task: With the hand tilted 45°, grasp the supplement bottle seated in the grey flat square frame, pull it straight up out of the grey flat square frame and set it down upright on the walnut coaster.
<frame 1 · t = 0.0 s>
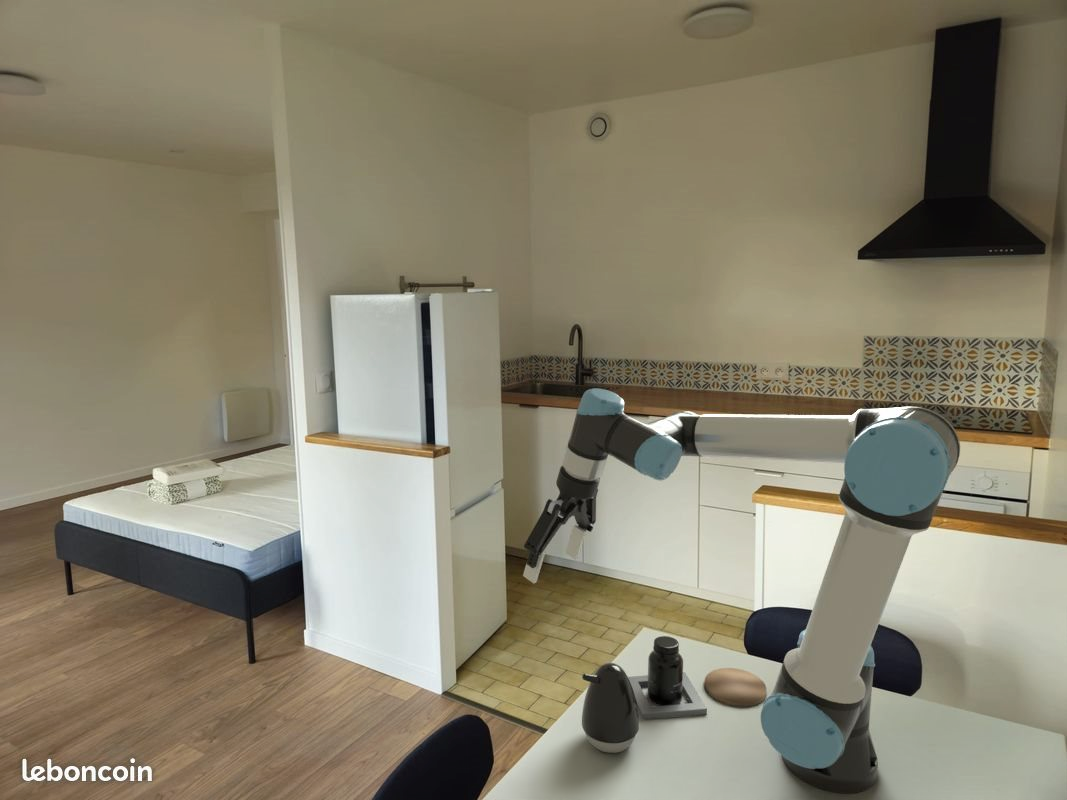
hand: (551, 567, 133), 28 cm above the table, tool tilted 20°, fingers open, 13 cm apart
supplement bottle: (664, 698, 138), resting in grey flat square frame
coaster: (735, 688, 141), on the table
grey flat square frame: (664, 697, 138), on the table
pump dispenser: (609, 744, 125), on the table
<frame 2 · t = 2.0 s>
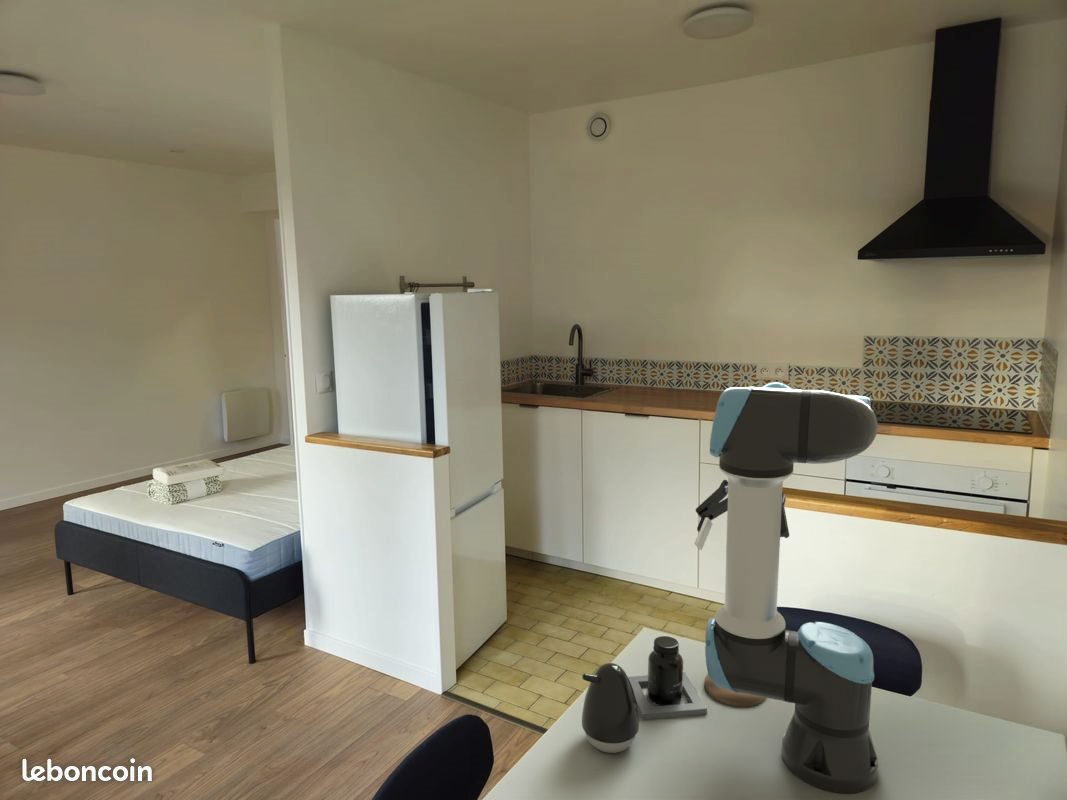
hand: (727, 554, 144), 26 cm above the table, tool tilted 45°, fingers open, 13 cm apart
nothing on the table moved.
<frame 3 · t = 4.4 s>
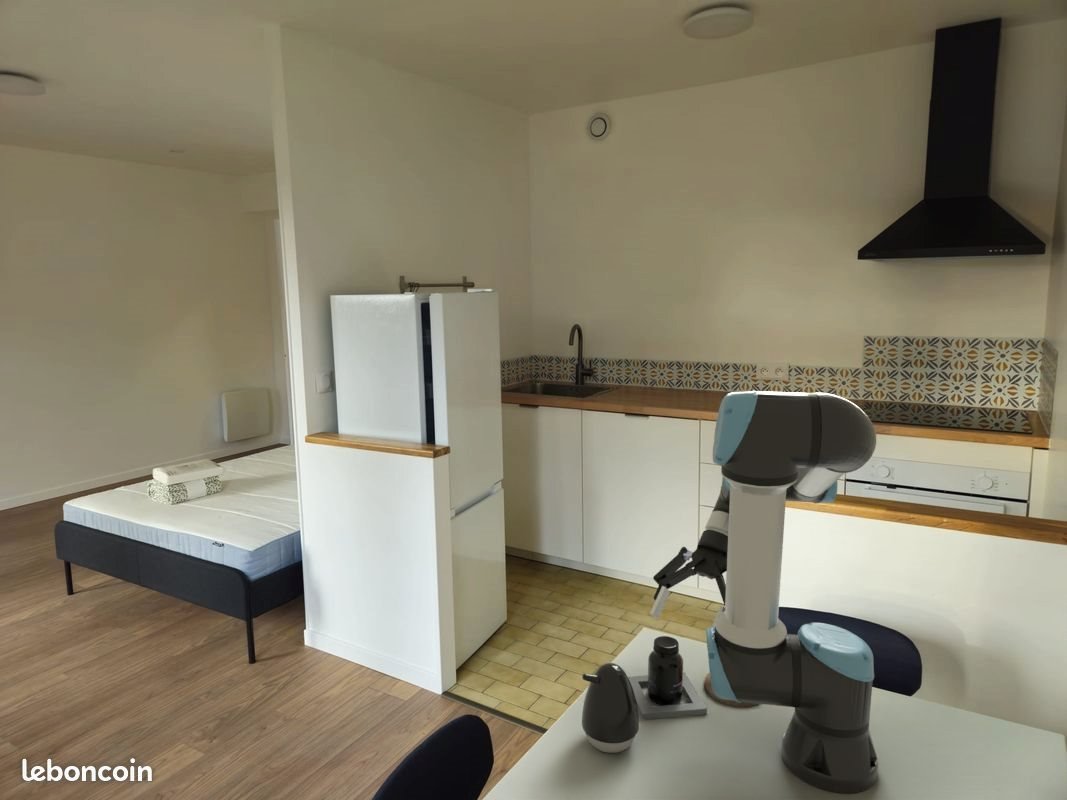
hand: (681, 627, 142), 12 cm above the table, tool tilted 45°, fingers open, 13 cm apart
nothing on the table moved.
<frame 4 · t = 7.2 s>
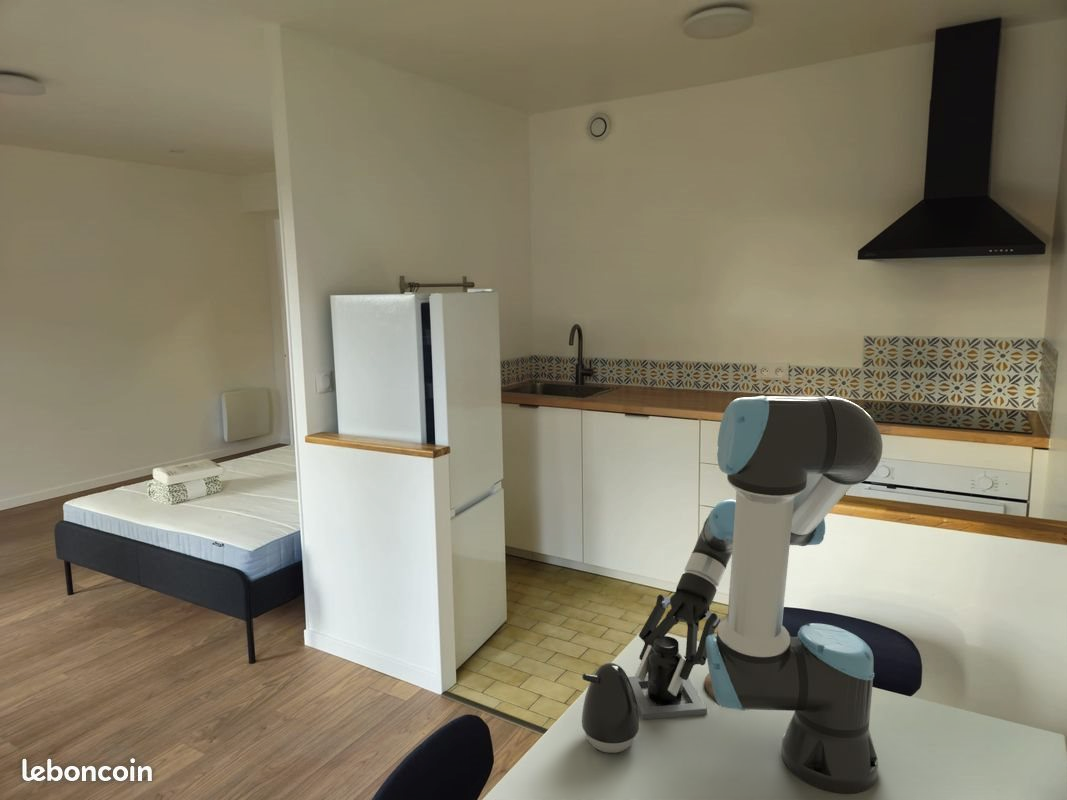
hand: (655, 685, 135), 4 cm above the table, tool tilted 45°, fingers closed on supplement bottle, 7 cm apart
supplement bottle: (664, 698, 138), resting in grey flat square frame, touching gripper
everything else where it was.
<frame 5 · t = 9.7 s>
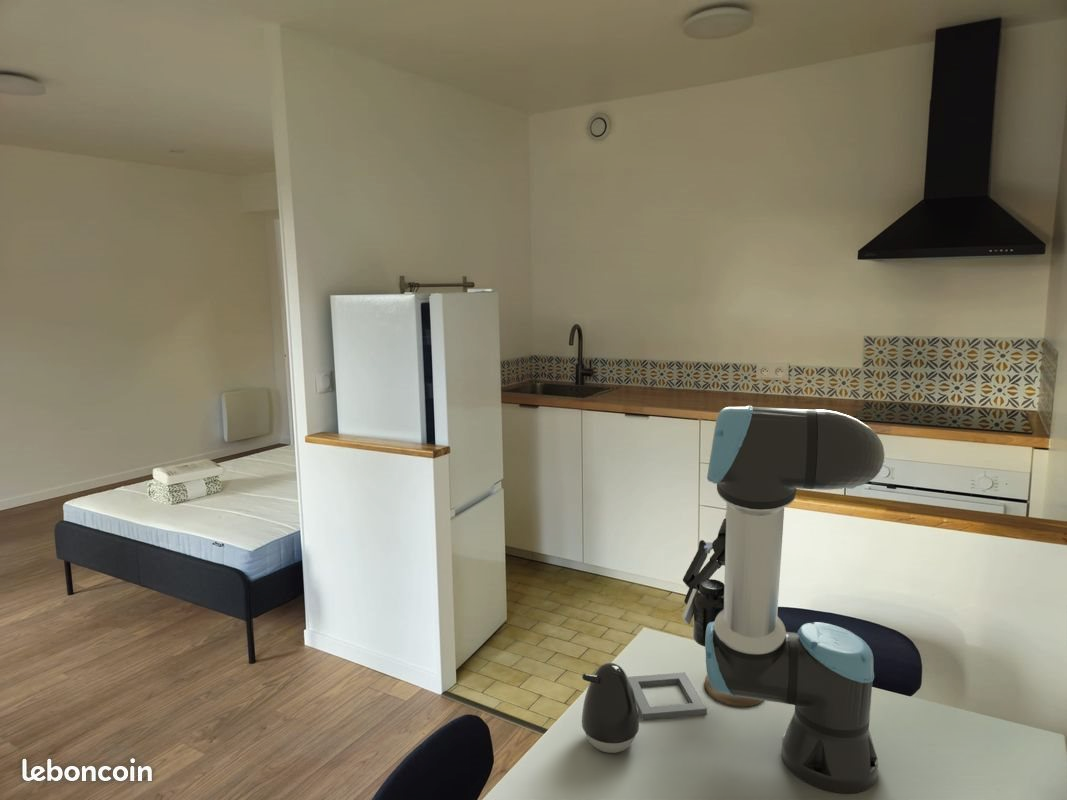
hand: (702, 627, 135), 15 cm above the table, tool tilted 45°, fingers closed on supplement bottle, 7 cm apart
supplement bottle: (710, 641, 139), point 11 cm above the table, touching gripper
everything else where it was.
when the fingers open (7 cm above the table, at t = 12.6 s): supplement bottle drops 1 cm, resting on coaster.
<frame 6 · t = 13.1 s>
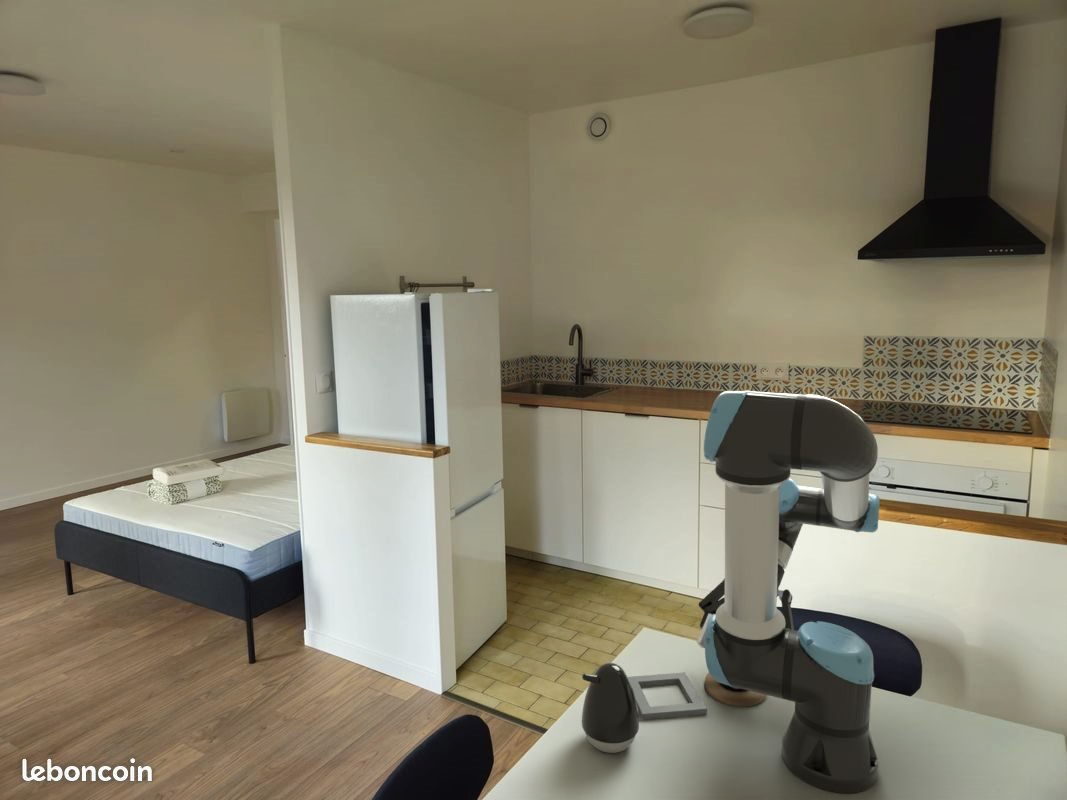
hand: (730, 657, 138), 8 cm above the table, tool tilted 45°, fingers open, 13 cm apart
supplement bottle: (734, 684, 141), point 1 cm above the table, touching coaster
everything else where it was.
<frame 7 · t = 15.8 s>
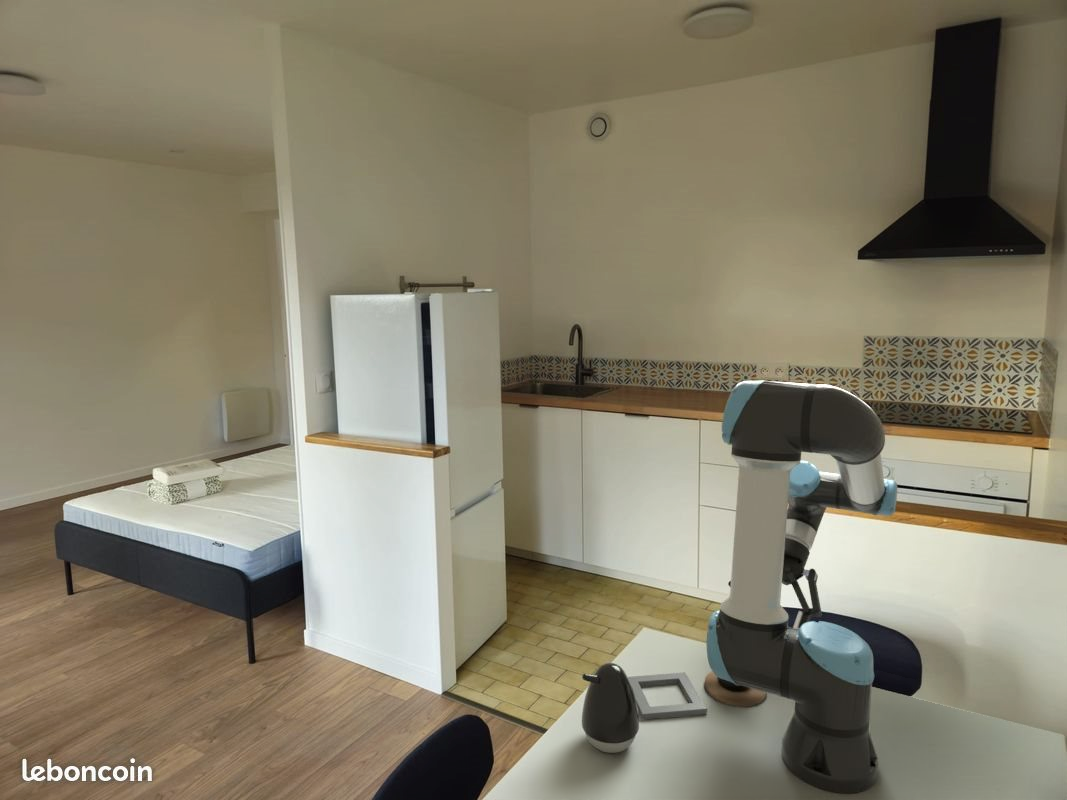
hand: (760, 632, 147), 8 cm above the table, tool tilted 45°, fingers open, 13 cm apart
nothing on the table moved.
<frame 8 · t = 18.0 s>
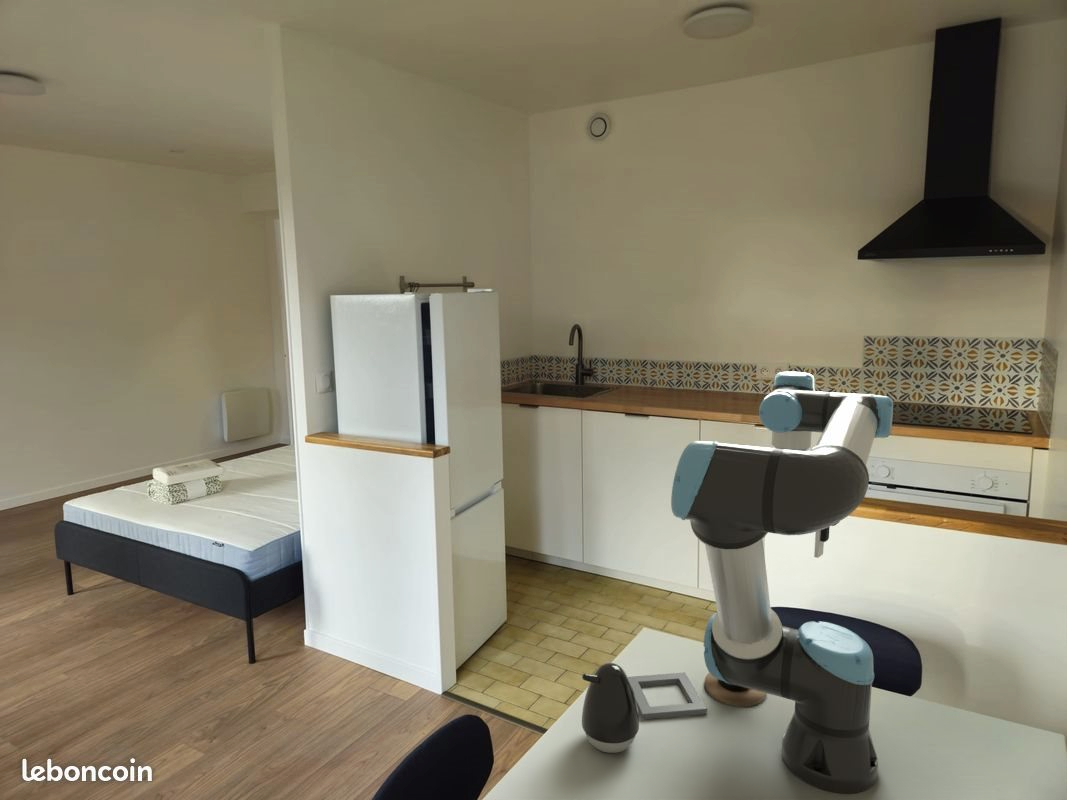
hand: (785, 547, 145), 27 cm above the table, tool pointing down, fingers open, 13 cm apart
nothing on the table moved.
at the end: supplement bottle inside the target area on the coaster (0.2 cm from its centre), point 0.8 cm above the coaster's base; supplement bottle tilted 1°; the gripper is holding nothing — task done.
